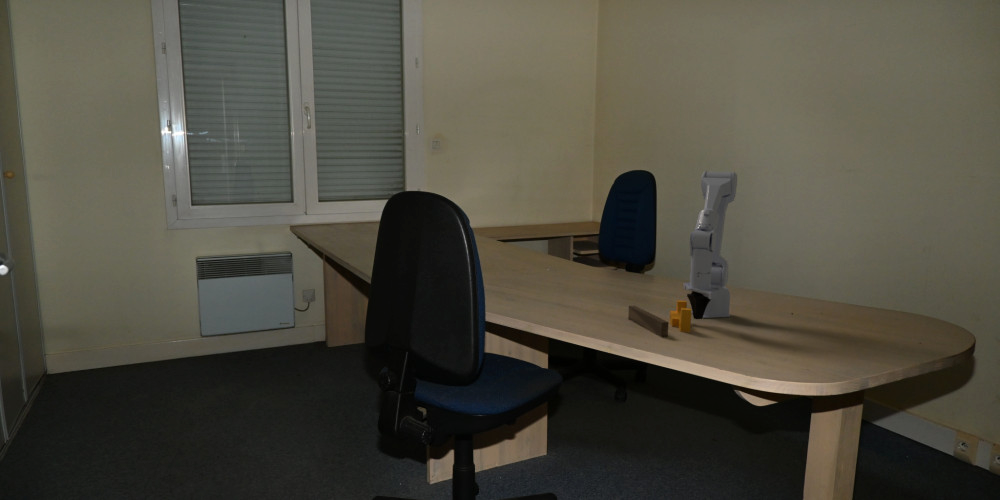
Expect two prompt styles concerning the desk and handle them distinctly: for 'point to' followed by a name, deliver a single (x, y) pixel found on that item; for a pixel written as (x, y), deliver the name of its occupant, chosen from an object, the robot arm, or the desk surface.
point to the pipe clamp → (681, 317)
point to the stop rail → (648, 321)
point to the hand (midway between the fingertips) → (697, 318)
